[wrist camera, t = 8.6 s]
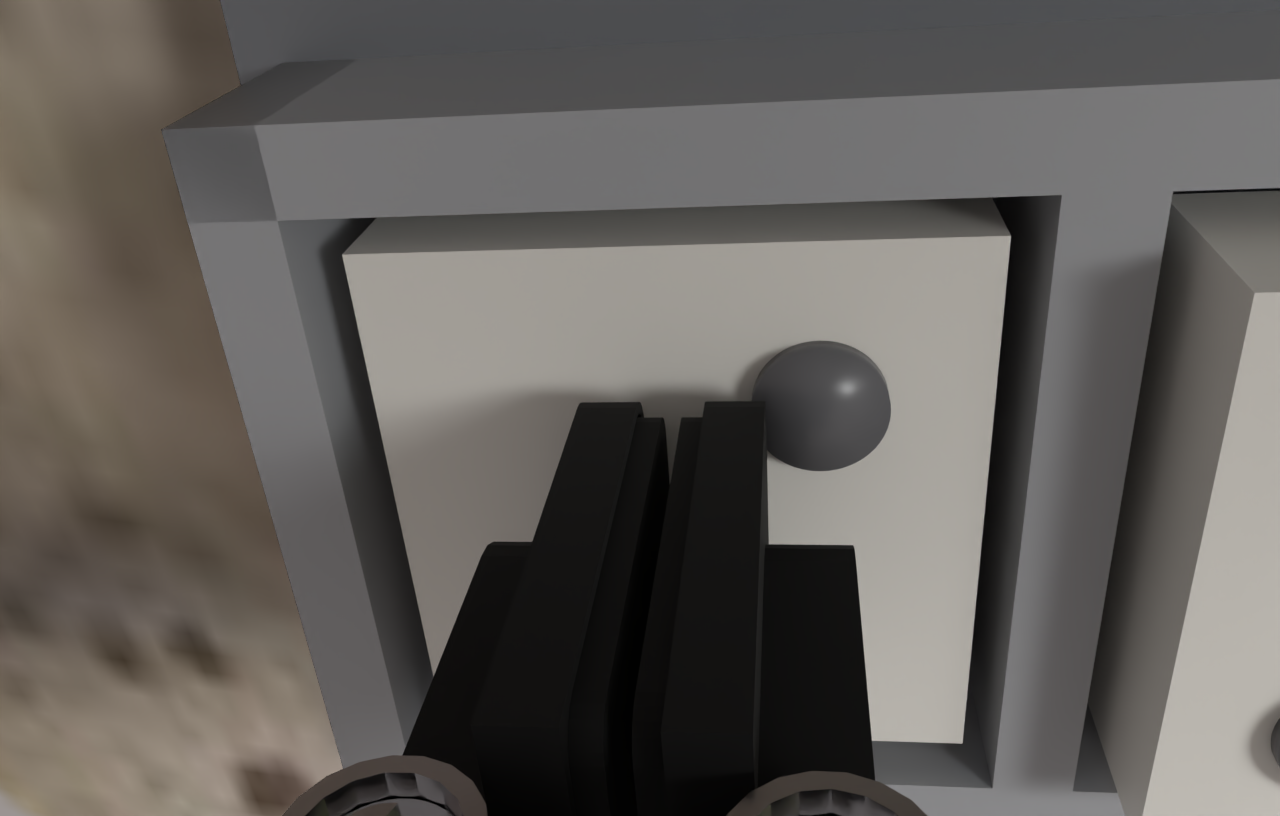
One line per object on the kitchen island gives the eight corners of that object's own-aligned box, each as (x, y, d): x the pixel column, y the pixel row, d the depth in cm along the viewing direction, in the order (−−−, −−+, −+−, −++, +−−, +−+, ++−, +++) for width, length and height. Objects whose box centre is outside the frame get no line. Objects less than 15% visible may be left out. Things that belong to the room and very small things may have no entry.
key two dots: (971, 159, 11) (1015, 244, 9) (938, 612, 13) (965, 757, 11) (412, 180, 11) (333, 263, 9) (488, 605, 14) (439, 740, 12)
